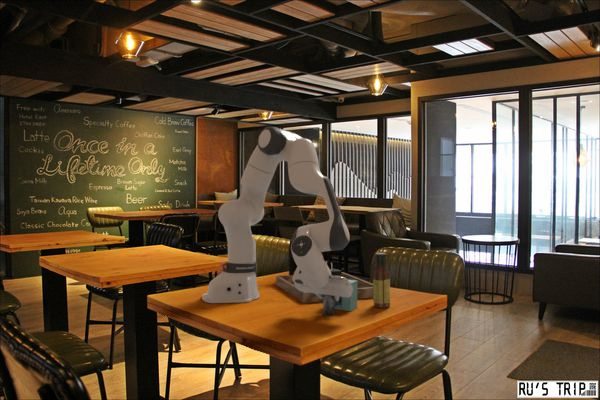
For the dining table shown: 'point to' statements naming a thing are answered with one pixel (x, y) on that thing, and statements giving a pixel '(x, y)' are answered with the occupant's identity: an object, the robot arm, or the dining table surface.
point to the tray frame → (306, 297)
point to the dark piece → (330, 304)
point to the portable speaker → (291, 261)
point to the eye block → (349, 299)
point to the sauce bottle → (381, 282)
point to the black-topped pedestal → (333, 270)
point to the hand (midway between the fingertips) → (329, 298)
